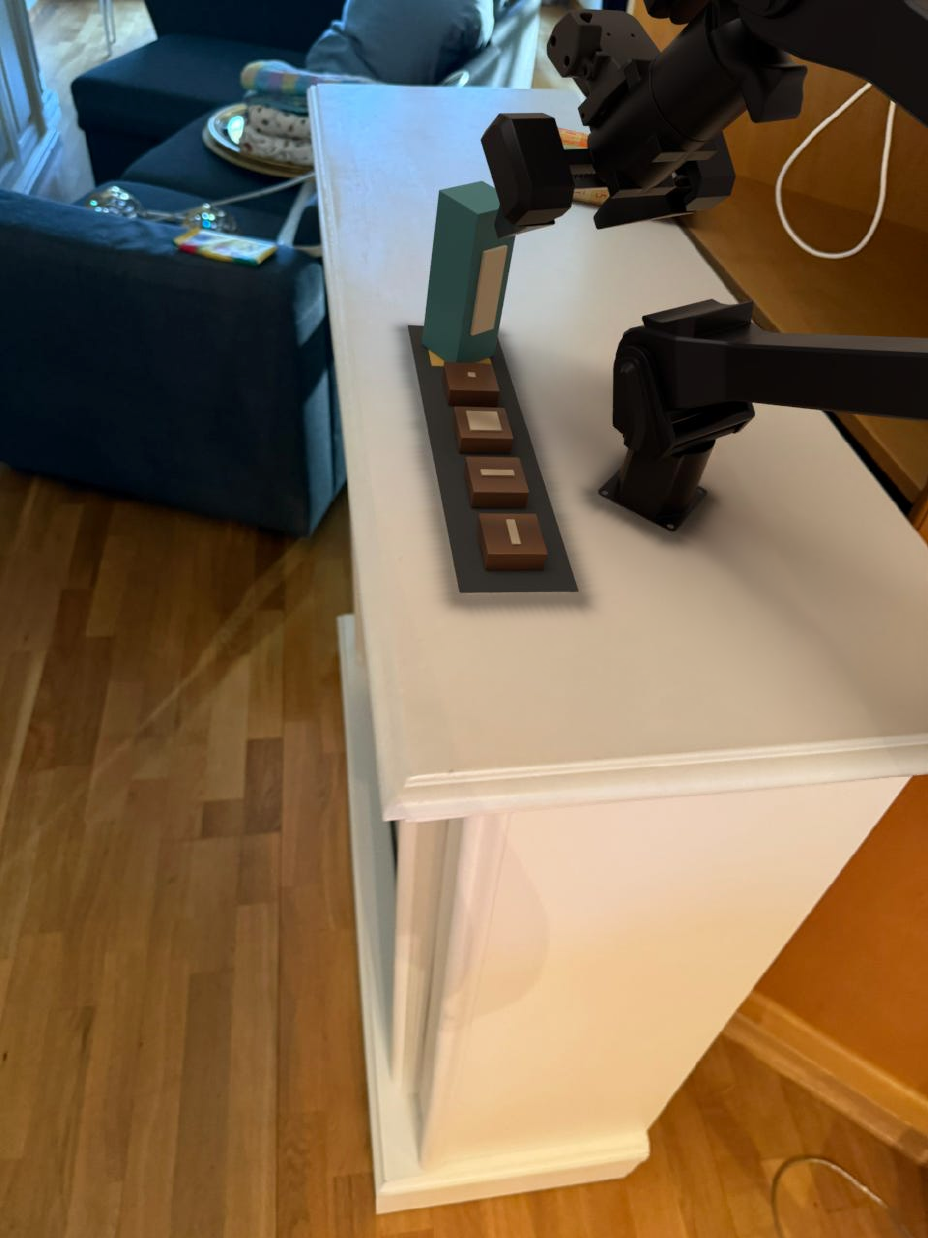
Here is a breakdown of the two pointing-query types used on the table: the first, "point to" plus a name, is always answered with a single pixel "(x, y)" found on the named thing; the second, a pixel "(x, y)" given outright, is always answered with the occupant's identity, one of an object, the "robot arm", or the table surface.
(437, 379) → the word mat
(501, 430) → the tile
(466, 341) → the teal tall rectangular block
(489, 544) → the tile
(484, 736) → the table surface
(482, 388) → the tile
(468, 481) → the tile
